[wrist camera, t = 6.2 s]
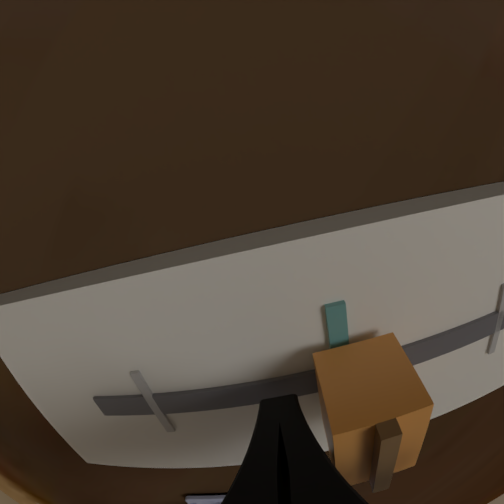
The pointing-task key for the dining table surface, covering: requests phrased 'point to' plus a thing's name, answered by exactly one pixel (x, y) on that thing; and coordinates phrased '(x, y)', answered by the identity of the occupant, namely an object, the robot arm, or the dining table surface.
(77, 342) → the fader console
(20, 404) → the dining table surface
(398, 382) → the fader tab
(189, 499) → the robot arm
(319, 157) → the dining table surface
